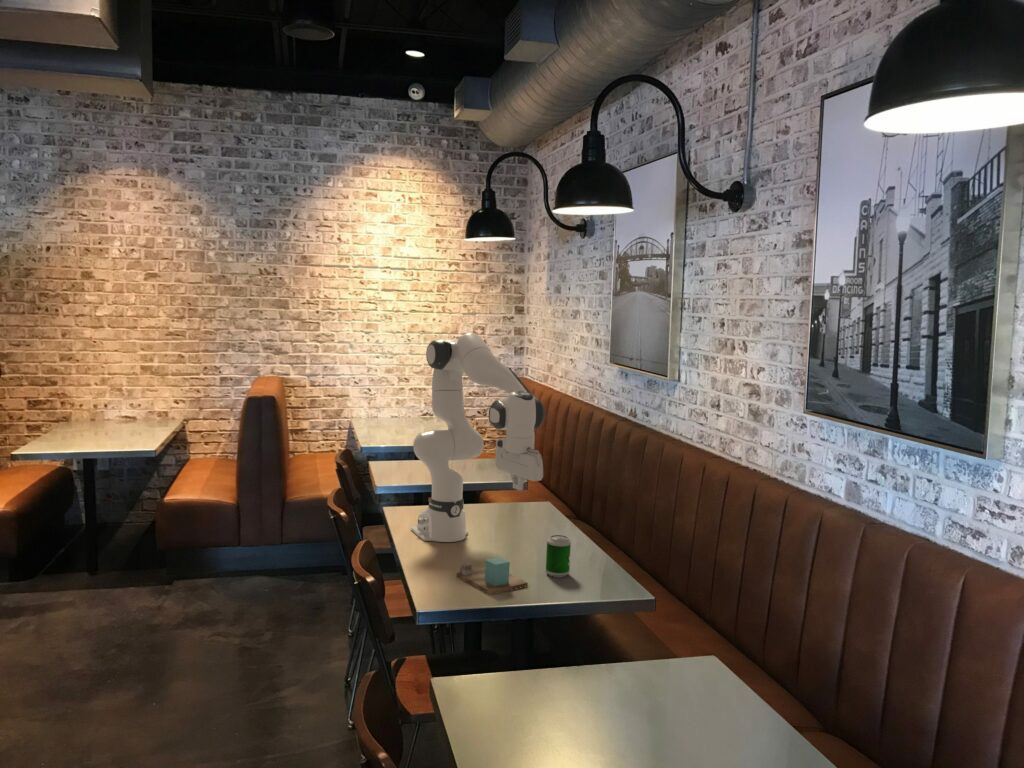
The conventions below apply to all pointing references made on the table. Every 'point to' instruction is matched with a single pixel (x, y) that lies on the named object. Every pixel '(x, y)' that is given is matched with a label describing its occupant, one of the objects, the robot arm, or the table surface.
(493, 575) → the light blue toy cube
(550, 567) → the soda can
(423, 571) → the table surface
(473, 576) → the stand
